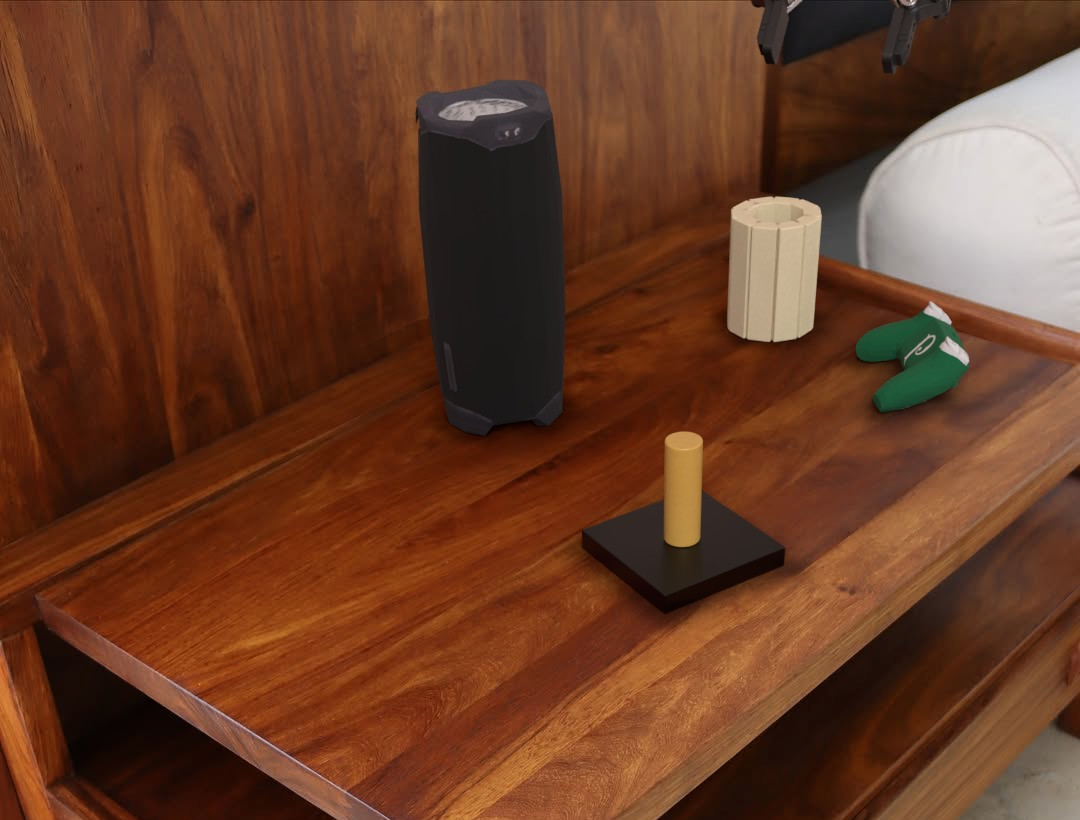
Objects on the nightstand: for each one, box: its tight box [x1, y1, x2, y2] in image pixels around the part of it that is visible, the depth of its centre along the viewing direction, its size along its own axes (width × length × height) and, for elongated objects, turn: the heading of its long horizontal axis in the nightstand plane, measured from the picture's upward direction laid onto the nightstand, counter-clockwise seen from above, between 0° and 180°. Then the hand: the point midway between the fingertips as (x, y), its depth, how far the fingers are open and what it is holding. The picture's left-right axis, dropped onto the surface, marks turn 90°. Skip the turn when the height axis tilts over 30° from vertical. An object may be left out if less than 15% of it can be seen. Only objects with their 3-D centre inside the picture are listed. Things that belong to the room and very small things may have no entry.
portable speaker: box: [414, 79, 566, 437], centre depth 89 cm, size 9×9×20 cm
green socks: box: [855, 300, 970, 413], centre depth 94 cm, size 9×4×6 cm
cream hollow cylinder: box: [726, 196, 823, 343], centre depth 101 cm, size 6×6×8 cm
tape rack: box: [581, 431, 786, 615], centre depth 78 cm, size 8×8×7 cm
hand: (827, 63), depth 102 cm, fingers open, 8 cm apart
